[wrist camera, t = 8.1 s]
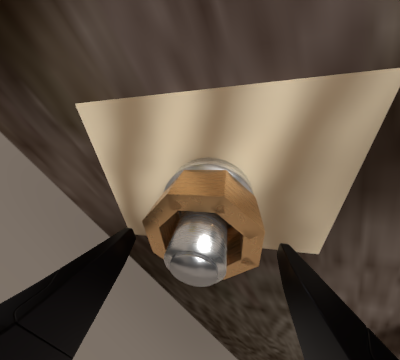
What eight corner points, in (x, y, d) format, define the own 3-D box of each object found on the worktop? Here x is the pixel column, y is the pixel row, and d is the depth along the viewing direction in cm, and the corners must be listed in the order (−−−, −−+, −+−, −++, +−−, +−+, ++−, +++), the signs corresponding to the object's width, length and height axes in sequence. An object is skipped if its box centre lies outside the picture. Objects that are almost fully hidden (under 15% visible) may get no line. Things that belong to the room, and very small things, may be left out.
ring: (259, 170, 9) (271, 198, 6) (249, 244, 12) (255, 284, 9) (157, 169, 10) (131, 192, 7) (173, 236, 13) (159, 269, 11)
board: (385, 71, 8) (409, 66, 7) (312, 243, 14) (318, 254, 13) (88, 103, 12) (75, 103, 11) (136, 226, 18) (130, 233, 17)
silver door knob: (257, 156, 10) (291, 223, 4) (249, 229, 13) (262, 320, 8) (163, 157, 11) (100, 209, 6) (177, 223, 15) (144, 296, 9)
